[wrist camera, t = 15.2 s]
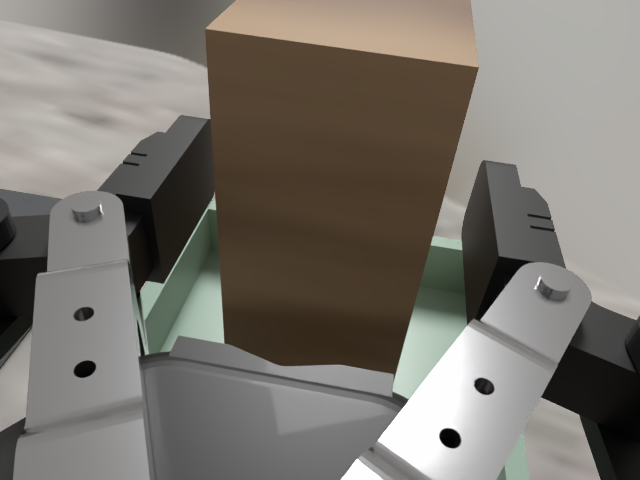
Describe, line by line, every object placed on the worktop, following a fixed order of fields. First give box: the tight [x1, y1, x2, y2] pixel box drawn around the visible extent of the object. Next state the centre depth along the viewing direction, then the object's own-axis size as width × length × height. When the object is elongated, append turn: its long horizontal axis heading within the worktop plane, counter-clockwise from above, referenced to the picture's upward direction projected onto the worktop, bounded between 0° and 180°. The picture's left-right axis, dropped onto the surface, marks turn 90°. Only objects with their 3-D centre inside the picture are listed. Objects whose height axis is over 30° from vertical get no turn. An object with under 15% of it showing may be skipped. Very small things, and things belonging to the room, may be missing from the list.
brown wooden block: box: [205, 0, 479, 383], centre depth 14 cm, size 4×4×12 cm
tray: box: [141, 200, 530, 480], centre depth 18 cm, size 12×12×3 cm
